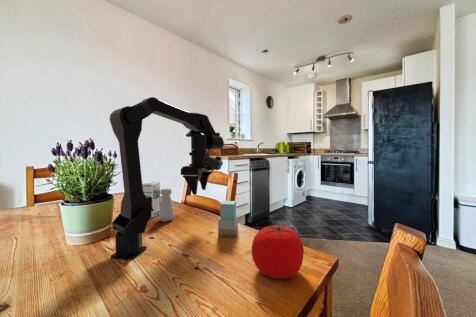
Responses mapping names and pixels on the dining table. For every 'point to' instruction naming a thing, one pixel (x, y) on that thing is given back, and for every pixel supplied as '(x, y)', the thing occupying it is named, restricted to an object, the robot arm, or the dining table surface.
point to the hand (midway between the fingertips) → (199, 192)
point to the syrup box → (153, 195)
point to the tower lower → (227, 233)
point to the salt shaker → (166, 205)
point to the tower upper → (228, 223)
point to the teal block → (228, 210)
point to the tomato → (277, 251)
